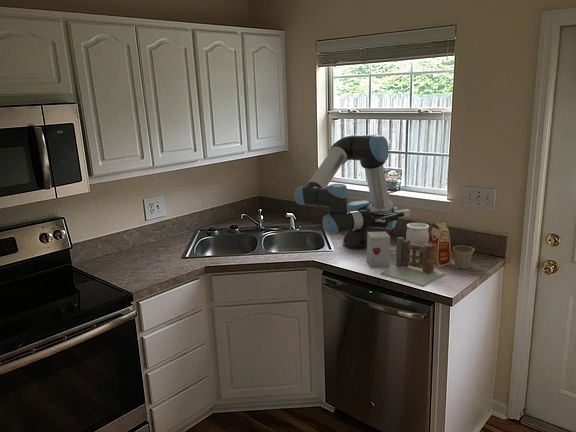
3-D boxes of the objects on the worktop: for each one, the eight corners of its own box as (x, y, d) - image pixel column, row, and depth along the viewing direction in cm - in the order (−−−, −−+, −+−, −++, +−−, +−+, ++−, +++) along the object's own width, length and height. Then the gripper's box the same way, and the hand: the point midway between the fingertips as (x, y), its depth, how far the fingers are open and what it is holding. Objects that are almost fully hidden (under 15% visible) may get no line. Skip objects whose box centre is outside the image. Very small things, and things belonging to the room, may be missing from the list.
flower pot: (446, 266, 219) (448, 248, 216) (459, 261, 224) (460, 244, 222) (465, 272, 211) (466, 253, 209) (477, 267, 217) (478, 248, 215)
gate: (402, 266, 216) (402, 241, 213) (407, 263, 219) (408, 238, 216) (429, 273, 207) (431, 246, 204) (435, 270, 210) (436, 244, 207)
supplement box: (370, 268, 219) (370, 237, 215) (366, 261, 227) (366, 231, 224) (390, 267, 219) (390, 236, 215) (385, 261, 228) (385, 230, 224)
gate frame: (380, 274, 211) (380, 244, 208) (402, 263, 224) (403, 234, 220) (423, 286, 197) (424, 254, 193) (444, 274, 209) (446, 244, 206)
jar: (425, 251, 240) (427, 222, 236) (429, 257, 230) (431, 228, 226) (404, 250, 241) (405, 222, 237) (407, 257, 231) (408, 228, 227)
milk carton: (438, 267, 218) (440, 225, 213) (423, 261, 226) (425, 220, 221) (452, 263, 222) (455, 221, 217) (437, 257, 230) (439, 217, 225)
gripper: (352, 224, 203) (399, 217, 211) (367, 232, 191) (417, 225, 199) (352, 207, 201) (400, 200, 209) (367, 214, 189) (418, 207, 197)
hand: (408, 212), depth 204 cm, fingers closed
